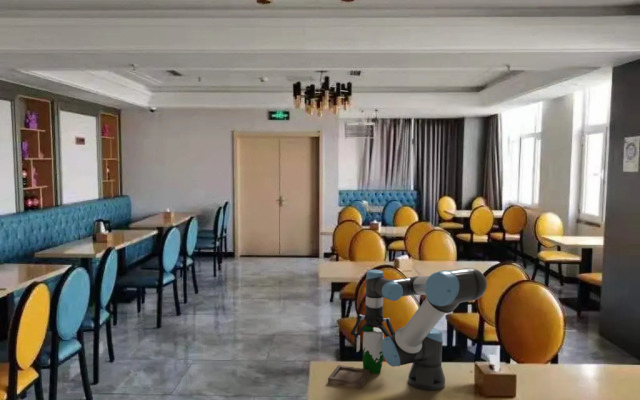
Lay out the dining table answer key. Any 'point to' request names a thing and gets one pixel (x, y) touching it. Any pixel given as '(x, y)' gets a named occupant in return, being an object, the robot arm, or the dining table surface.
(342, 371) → the walnut tray
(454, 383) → the dining table surface
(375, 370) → the soya milk
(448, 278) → the robot arm
